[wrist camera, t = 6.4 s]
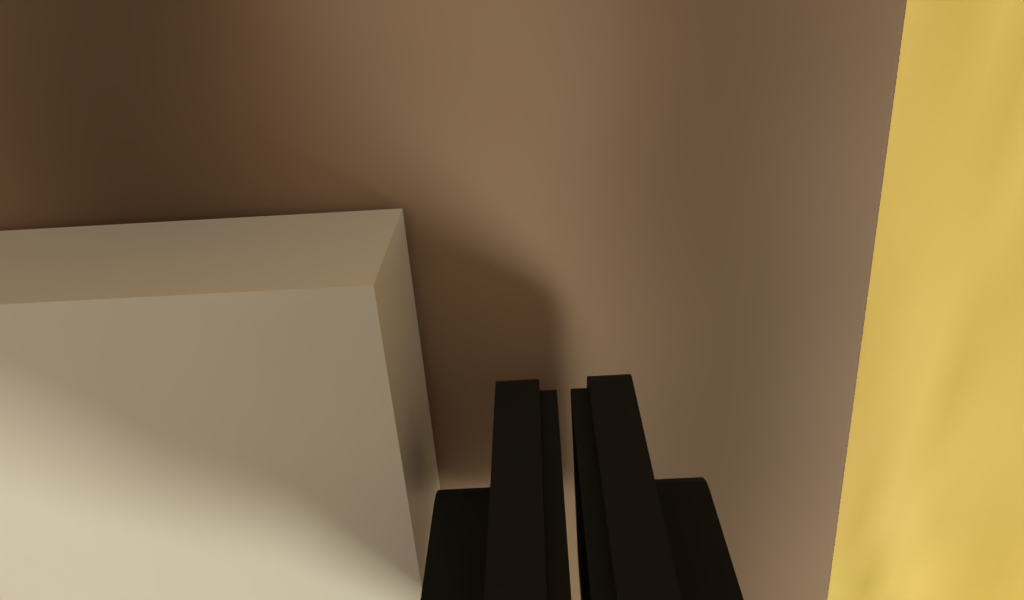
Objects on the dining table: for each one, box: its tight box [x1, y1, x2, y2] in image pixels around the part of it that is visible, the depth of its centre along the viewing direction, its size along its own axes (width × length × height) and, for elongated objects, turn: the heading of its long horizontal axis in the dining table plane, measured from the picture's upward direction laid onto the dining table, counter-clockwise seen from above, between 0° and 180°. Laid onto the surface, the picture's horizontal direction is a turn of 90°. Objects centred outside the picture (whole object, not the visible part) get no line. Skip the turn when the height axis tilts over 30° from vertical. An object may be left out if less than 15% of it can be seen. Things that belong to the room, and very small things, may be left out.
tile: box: [0, 208, 440, 600], centre depth 10 cm, size 7×7×2 cm
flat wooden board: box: [0, 0, 907, 600], centre depth 13 cm, size 16×14×3 cm
